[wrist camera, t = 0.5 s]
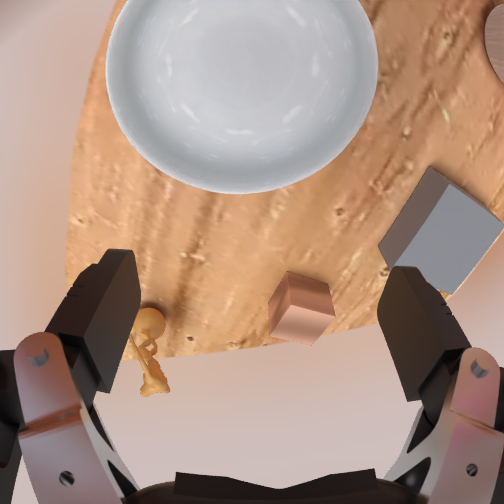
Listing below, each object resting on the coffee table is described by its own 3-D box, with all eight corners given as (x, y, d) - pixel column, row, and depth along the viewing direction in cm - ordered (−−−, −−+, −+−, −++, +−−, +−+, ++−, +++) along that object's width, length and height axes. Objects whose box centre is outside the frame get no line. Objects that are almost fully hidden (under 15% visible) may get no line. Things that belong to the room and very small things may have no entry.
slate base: (429, 165, 26) (449, 183, 22) (485, 206, 28) (504, 225, 24) (377, 246, 31) (389, 270, 28) (438, 272, 33) (451, 294, 30)
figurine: (124, 290, 35) (91, 374, 26) (168, 282, 34) (142, 373, 25) (153, 334, 40) (133, 413, 30) (194, 330, 39) (180, 414, 29)
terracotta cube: (287, 270, 33) (290, 304, 29) (327, 283, 34) (335, 316, 30) (268, 302, 36) (269, 336, 32) (306, 312, 37) (311, 345, 33)
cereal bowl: (179, -51, 15) (154, -80, 9) (378, 16, 18) (418, 10, 12) (119, 130, 24) (81, 158, 19) (298, 186, 28) (310, 228, 22)
